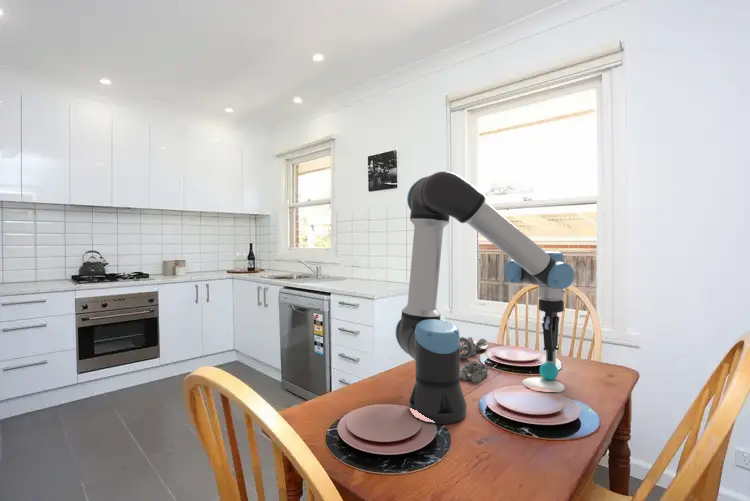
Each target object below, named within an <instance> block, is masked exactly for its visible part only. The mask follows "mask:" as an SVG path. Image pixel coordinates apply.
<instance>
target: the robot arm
mask: <svg viewBox="0 0 750 501" xmlns="http://www.w3.org/2000/svg"><path fill="white" fill-rule="evenodd" d="M406 199H407V205H408V208H409V210H410V213H409V214H410V217H409V221H410V222H411V223H412V225H413V227H414V228H413V237H412V239H413V240H412V250H411V262H410V273H409V284H408V295H407V296H408V297H407V305H406V306H404V307H403V308H402V309H401V316H400V319H399V320H398V322H397V324H396V326H395V338H396V341H397V344H398V346H399V347H400V348H401V349H402V350H403V352H405V353H406V354H408V355H409V356H410V357H411V358H412V359H413V360H414V361H415V363H414V364H415V382H414V385H413V388H412V391H411V394H410V398H409V400H408V402H409V403H408V405H409V406H408V408H409V407H410V408H412V409H414V410H417V411H418V412H419V413H421V414H422V415H424V416H425V417H427V418H429V419H431V420H433V421H434V422H436V423H437V424H436V425H450V424H454V423H458V422H460V421H462V420H464V419H465V418H466V417H467V401H466V400H465V395H464V393H463V389H462V386H461V382H460V379H461V372H460V368H461V366H460V365H461V364H460V363H461V360H460V359H461V357H460V355H461V354H460V344H461V343H460V340H461V339H460V337H461V336H460V330H459V329H458V327H457V325H455V324H454V323H452V322H449V321H444V320H443V319H441V313H440V311H439V310H438V309H437V301H438V300H437V299H438V291H439V289H438V288H439V281H440V280H439V278H440V267H441V258H442V249H443V248H442V246H443V233H444V228H445V227H446V226H447V225H448V224H449V223H450V217H452V218H454V219H456V220H457V221H458V222H459V223H460V224H467V225H469V226H470V227H471V228H473V229H474V230H475V231H476V232H478V233H479V234H480V235H481V236H483V238H485V239H486V240H488V241H489V242H490V243H491V244H493V245H494V246H495V247H496V248H497V249H498V250H500V251H501V252H502V253H503V254H505V255H506V256H507V257H508V258H510V260H507V262H506V263H505V264H504V269H503V270H504V271H503V272H504V273H503V274H504V277H505V279H506V281H507V282H509V283H511V284H528V285H535V286H538V298H539V299H538V310H539V311H541V312H543V313H544V316H543V317H542V320H543V322H542V323H541V328H542V334H543V335H542V336H543V351H545V363H546V362H549V363H552V364H554V365H555V366H556V367H557V351H559V349H560V348H559V347H558V346H559V344H558V341H559V339H558V338H559V323H560V317H559V316H558V313H562V312H564V310H565V307H564V306H565V304H564V303H565V301H564V297H565V293H566V291H567V290H566V289H567V288H569V287H570V286H571V285H572V284H573V282H574V280H575V271H574V269H573V267H572V265H571V264H569V263H567V262H565V259H564V254H563V253H562V252H560V251H545V250H544V249H542V248H541V247H540V246H539V245H538V244H537V243H535V241H533V240H532V239H531V238H529V236H527V235H526V234H525V233H523V231H522V230H520V229H519V228H518V227H517V226H515V225H514V224H513V223H512V222H510V220H508V219H507V218H506V217H505V216H504V215H502V214H501V212H499V211H498V210H497V209H495V208H494V207H493V205H491V204H489V203H488V202H487V199H486V195H485V194H484V193H482V191H480V190H479V189H478V188H477V187H476V186H474V185H473V184H472V183H470V182H469V181H467V180H466V179H465V178H464V177H462V176H460V175H458V174H457V173H454V172H450V171H438V172H435V173H433V174H430V175H428V176H425V177H421V178H419V179H418V180H417V181H415V182H414V183H413V185H411V187H410V188H409V190H408V193H407V198H406Z"/></svg>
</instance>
